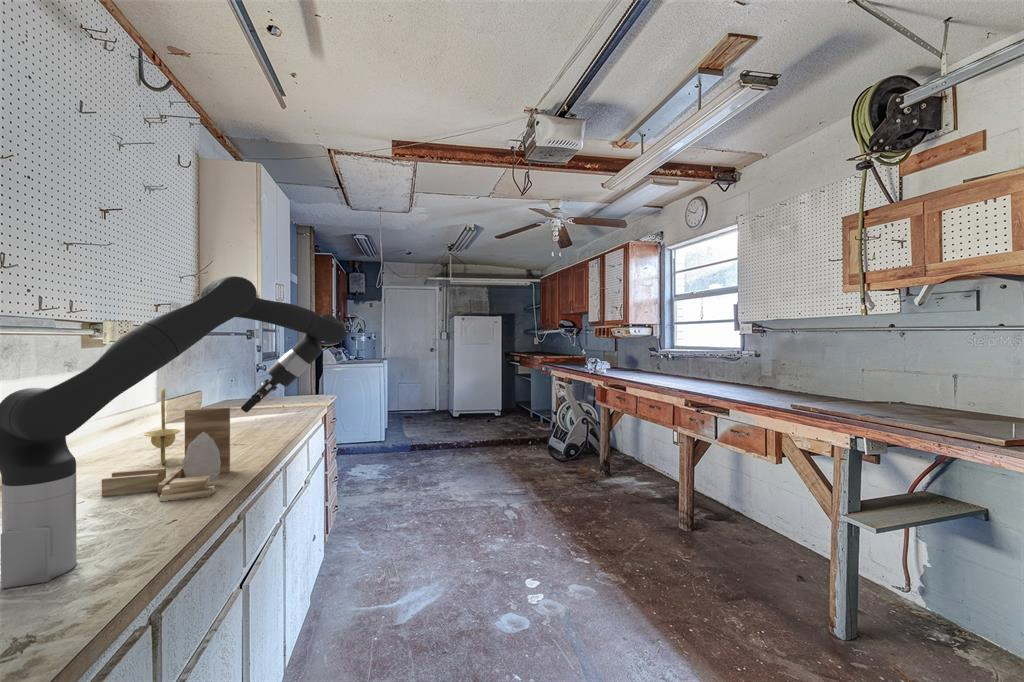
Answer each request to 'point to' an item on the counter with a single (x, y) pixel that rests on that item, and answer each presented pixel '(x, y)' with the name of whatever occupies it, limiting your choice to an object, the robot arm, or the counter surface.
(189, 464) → the stone tool
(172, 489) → the offcut stack
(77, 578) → the counter surface
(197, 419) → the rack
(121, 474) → the holder
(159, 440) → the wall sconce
